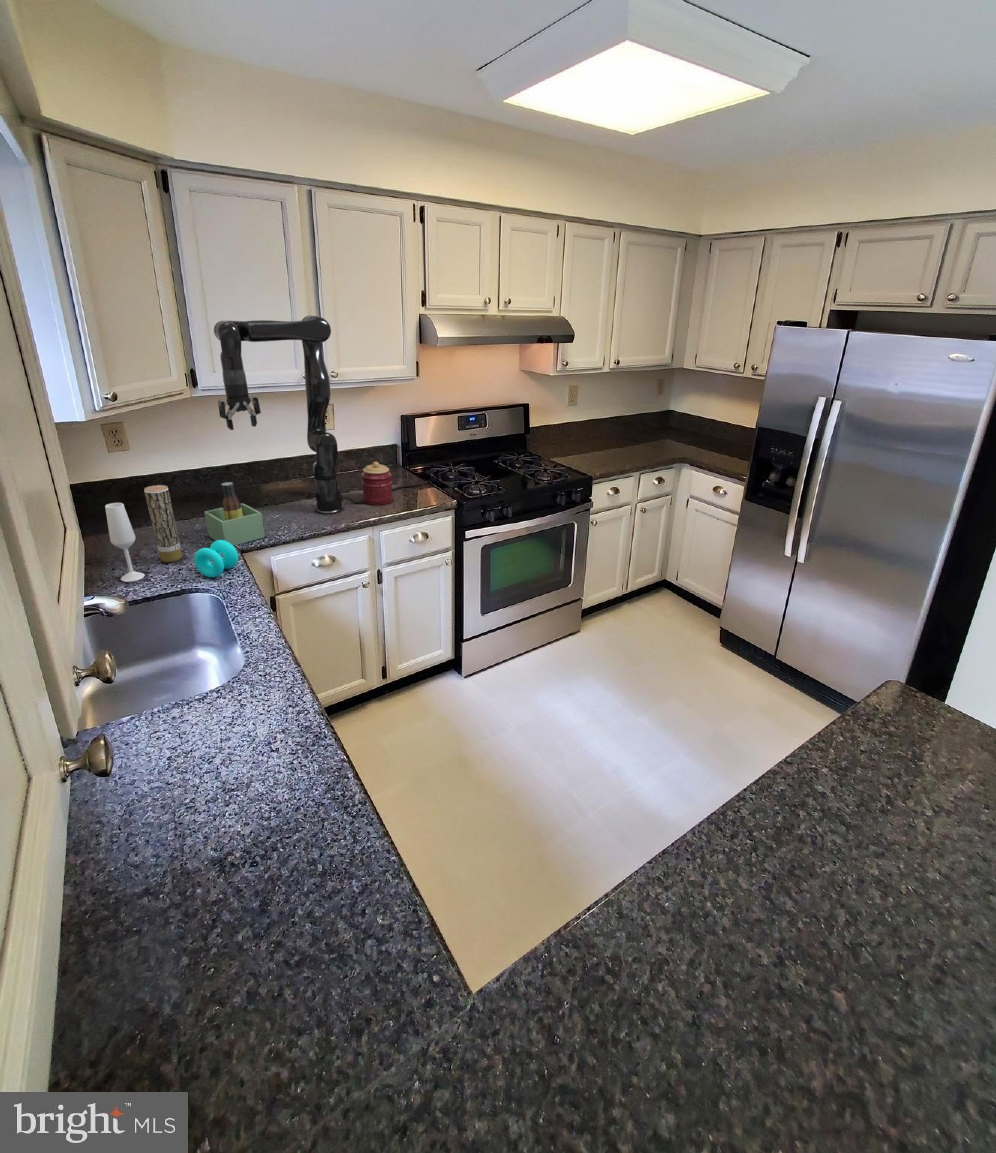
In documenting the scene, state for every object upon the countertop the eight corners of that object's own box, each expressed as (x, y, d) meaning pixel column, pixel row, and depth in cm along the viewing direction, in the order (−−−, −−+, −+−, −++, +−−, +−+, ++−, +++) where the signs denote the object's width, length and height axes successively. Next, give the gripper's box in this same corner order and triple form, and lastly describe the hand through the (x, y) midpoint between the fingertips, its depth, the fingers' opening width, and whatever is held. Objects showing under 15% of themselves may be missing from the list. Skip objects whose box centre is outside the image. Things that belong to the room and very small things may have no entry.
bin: (246, 526, 231) (243, 503, 227) (264, 537, 223) (261, 513, 218) (208, 535, 222) (204, 511, 218) (226, 547, 213) (221, 522, 209)
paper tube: (160, 564, 198) (143, 492, 187) (160, 556, 204) (144, 486, 193) (183, 561, 201) (168, 490, 190) (182, 553, 207) (167, 484, 196)
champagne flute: (119, 575, 190) (100, 504, 180) (143, 570, 194) (125, 500, 183) (122, 583, 185) (102, 510, 175) (146, 578, 189) (128, 506, 179)
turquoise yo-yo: (195, 576, 192) (189, 548, 187) (216, 564, 200) (211, 536, 196) (222, 581, 189) (216, 552, 185) (242, 568, 198) (237, 540, 194)
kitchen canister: (356, 501, 263) (353, 461, 255) (377, 494, 273) (375, 456, 265) (377, 507, 256) (375, 467, 249) (398, 500, 266) (397, 461, 258)
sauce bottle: (249, 532, 225) (241, 481, 216) (241, 538, 219) (232, 486, 210) (233, 531, 225) (224, 480, 216) (224, 537, 219) (215, 485, 211)
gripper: (220, 385, 205) (228, 432, 212) (259, 381, 214) (266, 426, 221) (210, 382, 209) (219, 429, 216) (249, 378, 219) (256, 423, 226)
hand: (242, 427), depth 219 cm, fingers open, 8 cm apart
